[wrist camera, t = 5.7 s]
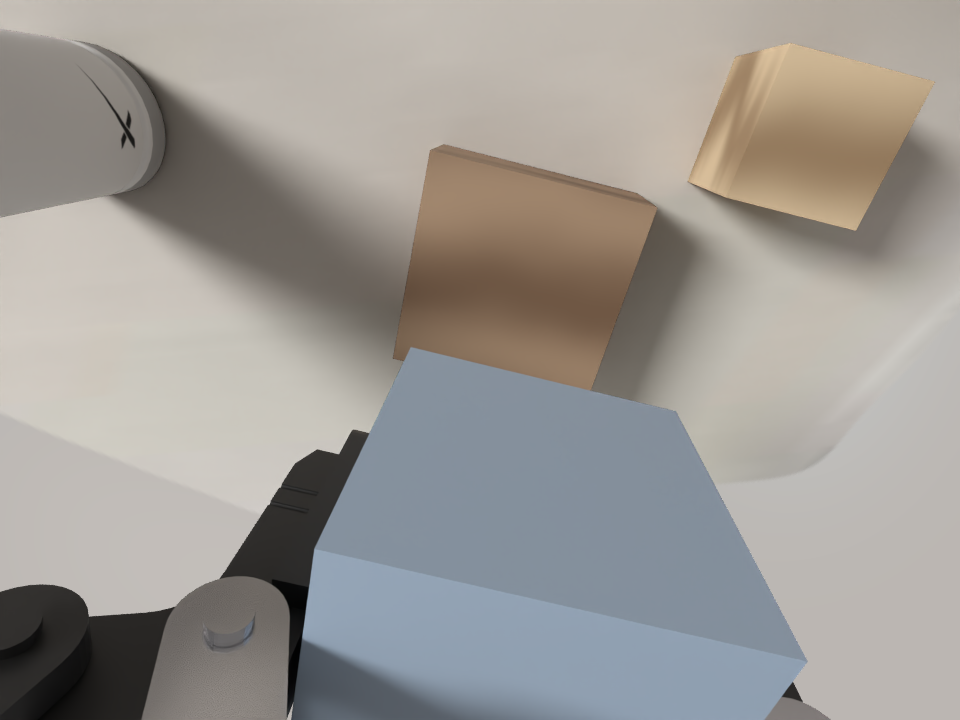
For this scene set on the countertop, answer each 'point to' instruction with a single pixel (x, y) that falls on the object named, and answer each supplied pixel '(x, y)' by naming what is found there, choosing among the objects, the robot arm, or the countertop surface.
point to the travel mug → (72, 123)
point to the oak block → (807, 132)
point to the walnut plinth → (519, 266)
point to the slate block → (534, 565)
